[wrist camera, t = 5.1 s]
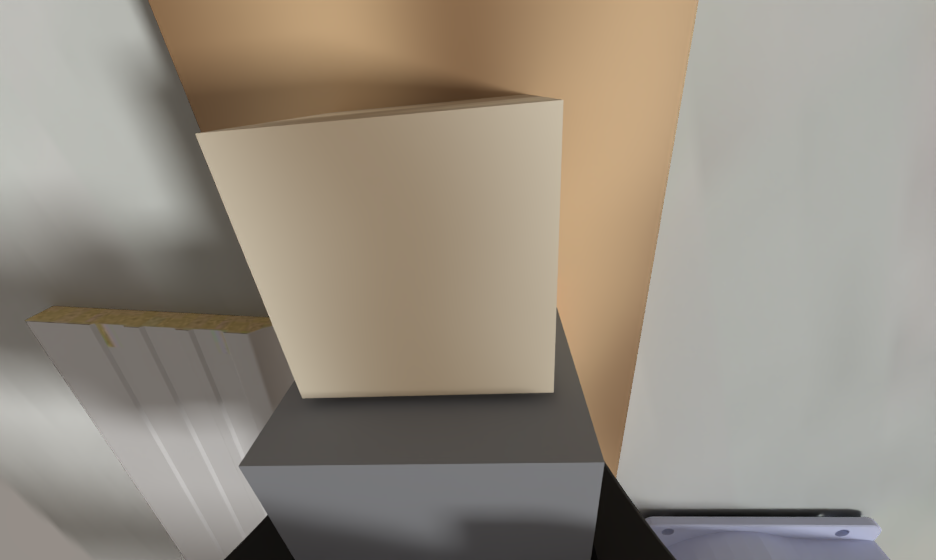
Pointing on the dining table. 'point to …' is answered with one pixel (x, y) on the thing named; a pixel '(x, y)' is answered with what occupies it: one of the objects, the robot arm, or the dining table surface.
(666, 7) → the board
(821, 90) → the dining table surface
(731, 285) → the dining table surface
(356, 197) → the beige cube
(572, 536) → the block
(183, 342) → the baseboard
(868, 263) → the dining table surface
